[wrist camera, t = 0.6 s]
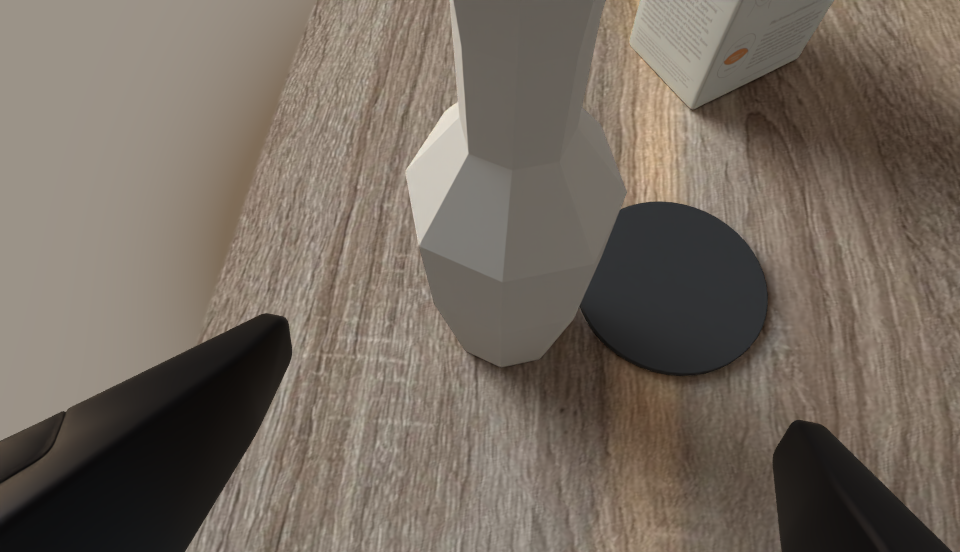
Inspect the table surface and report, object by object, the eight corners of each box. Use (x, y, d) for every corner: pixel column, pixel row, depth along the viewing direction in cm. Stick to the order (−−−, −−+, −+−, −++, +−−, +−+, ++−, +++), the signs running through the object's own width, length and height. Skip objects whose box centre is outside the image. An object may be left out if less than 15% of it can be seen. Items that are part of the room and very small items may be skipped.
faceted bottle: (569, 394, 24) (924, -238, 4) (428, 377, 25) (158, -264, 5) (576, 266, 27) (817, -492, 7) (449, 253, 27) (331, -493, 7)
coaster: (755, 401, 24) (759, 399, 24) (555, 344, 25) (556, 341, 25) (772, 230, 28) (775, 225, 27) (596, 188, 29) (597, 183, 28)
